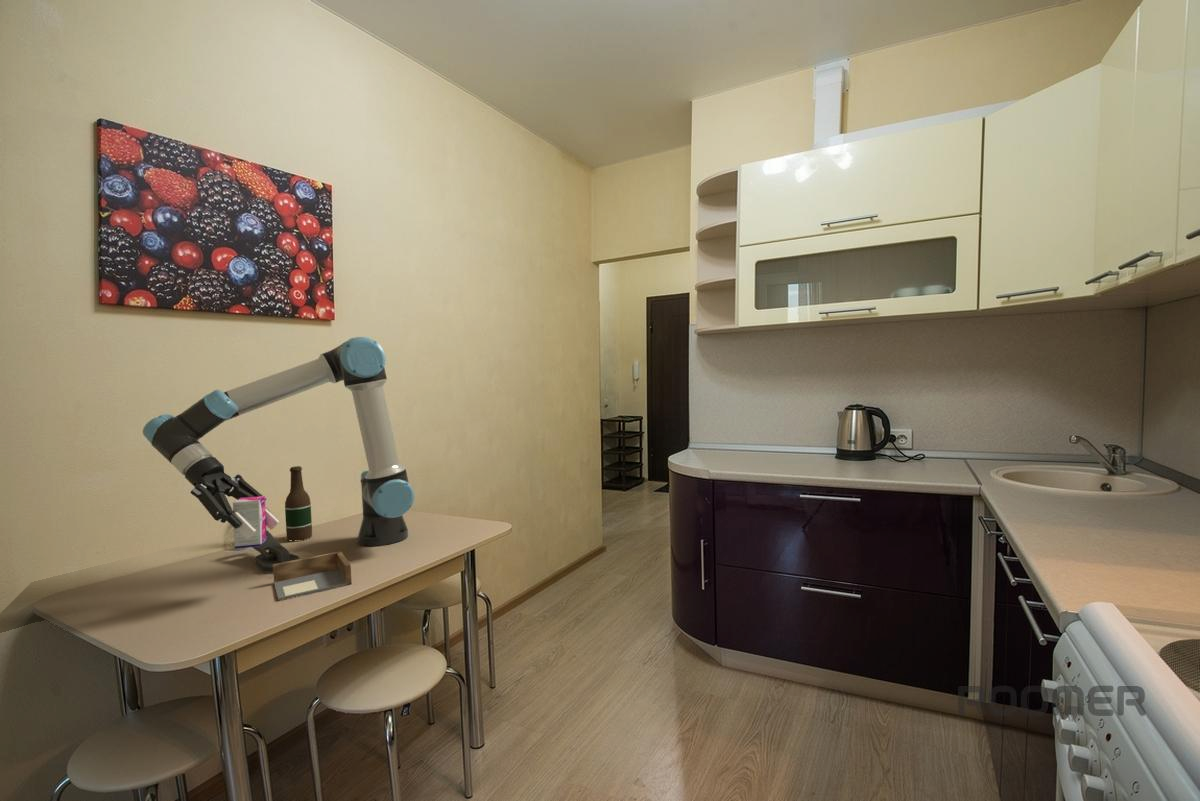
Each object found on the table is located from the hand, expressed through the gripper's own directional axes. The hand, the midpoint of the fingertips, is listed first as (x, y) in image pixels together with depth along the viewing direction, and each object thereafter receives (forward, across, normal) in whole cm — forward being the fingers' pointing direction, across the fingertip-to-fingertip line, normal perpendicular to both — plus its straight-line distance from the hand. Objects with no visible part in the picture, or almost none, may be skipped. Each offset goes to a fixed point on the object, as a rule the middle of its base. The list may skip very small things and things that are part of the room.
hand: (263, 530), depth 132 cm
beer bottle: (-4, -43, -26) cm, 51 cm away
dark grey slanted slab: (0, -21, -22) cm, 31 cm away
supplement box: (0, 0, -5) cm, 5 cm away
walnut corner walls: (+17, -4, -4) cm, 18 cm away
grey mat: (+17, -4, -4) cm, 18 cm away
